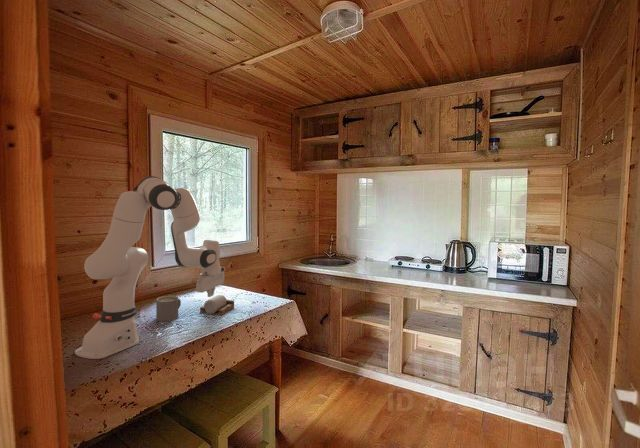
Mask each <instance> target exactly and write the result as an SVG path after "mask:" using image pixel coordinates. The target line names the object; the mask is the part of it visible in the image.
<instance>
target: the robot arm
mask: <svg viewBox="0 0 640 448" xmlns="http://www.w3.org/2000/svg"><path fill="white" fill-rule="evenodd" d="M151 207H153V208H154V209H157V210H160V211H168V210H170V211H171V215H172V218H173V221H172V222H171V225H170V232H171V238H172V243H173V248H174V261H175V263H176V264H177V265H178V266H179V267H181V268H182V267H183V268H184V267H185V268H186V267H187V268H188V267H189V268H198V269H201V273H200V274H199V275H198V277H197V279H196V287H195V291H196V292H197V293H201V294H203V293H207V297H208V298H212V296H213V297H214V294H215V291H216V287H219V286H221V285H222V284H224V283H225V271H226V268H225V266H221V263H220V258H221V247H220V242H219V240H214V239H213V240H212V239H204V240H203V242H202V245H201V246H200V247H191V246H189V245H188V244H187V240H186V234H185V233H186V232H189V231H191V230H193V229H195V228H196V227H197V226H198V225H199V223H200V221H201V215H200V210H199V208H198V205H197V203H196V200H195V198H194V196H193V194H192V192H191V191H190V190H189V189H187V188H185V187H179V188H174V187H173V186H171V185H170V184H169V183H168V182H167V181H165V180H163V179H162V178H160V177H158V176H153V175H151V176H149V175H148V176H145V177H144V178H142V179H141V180H140V181H139V183H138V184H137V185H136V186H135V187H134V188H133V190H129V191H125V192H122V193H121V194H120V195H119V197H118V200H117V202H116V204H115V207H114V210H113V215H112V218H111V221H110V222H111V223H110V227H109V230H108V233H107V235H106V237H105V239H104V241H102V243H101V245H100V246H99V247H98V248H97V250H95V252H93V253H92V254H91V255H89V256H88V257H87V258H86V259H85V261H84V267H83V268H84V272H85V274H86V275H87V276H88V277H89V278H90V279H93V280H108V279H112V280H111V281H110V283H108V285H107V286H106V287H105V288H104V290H103V293H102V309H101V312H100V313H97V312H95V313H93V315H92V317H93V319H97V320H98V321H97V322H96V323H95V324H94V326H93V327H91V329H89V330H88V331H87V333H86V334H84V337H83V339H82V345H81V346H80V347H78V348H77V349H75V350H74V355H76V356H77V357H80V358H84V359H91V360H99V359H104V358H107V357H109V356H112V355H114V354H116V353H119V352H122V351H123V350H126V349H128V348H130V347H134V346H136V345H139V344H140V341H139V340H140V335H139V333H138V328H137V322H136V315H137V314H136V313H137V312H136V311H137V310H136V308H137V307H136V305H135V299H136V298H135V296H136V295H135V293H136V285H137V282H138V279H139V277H140V274H141V273H142V271H143V270H144V268H145V267H146V266H147V265H148V263H149V254H148V252H147V251H146V250H145V249H144V248H142V247H136V246H134V244H136V243H137V242H138V241H139V240H140V239H141V236H142V234H143V233H142V232H143V228H144V224H145V219H146V215H147V212H148V210H149V209H150V208H151Z"/></svg>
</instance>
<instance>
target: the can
mask: <svg viewBox="0 0 640 448" xmlns="http://www.w3.org/2000/svg"><path fill="white" fill-rule="evenodd" d="M227 300H228V299H227V298H226V297H225V296H224V295H222V294H218V295H216V296H213V297H210V298H209V299H208V300H206V301H205V302H204V304H203V306H204V308H205V312H206V313H207V314H210V315H213V314H215V313H216V312H217V313H218V310H219V309H221V308H223V307H225V305H226V303H227Z"/></svg>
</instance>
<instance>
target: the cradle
mask: <svg viewBox="0 0 640 448" xmlns="http://www.w3.org/2000/svg"><path fill="white" fill-rule="evenodd" d="M226 300H227V303H226V305H225V307H223V308H221V309H219V310H218V311H217V314H219V316H222V314H223V315H225V314H226V313H228V312H230V311H231V310H232V308H233V307H234V308H235V300H232V299H226ZM234 308H233V309H234ZM230 309H231V310H230ZM227 311H228V312H227ZM199 312H200V313H205V312H206V311H205V308H204V305H202V306H201V307H200V309H199ZM225 312H226V313H225ZM224 313H225V314H224Z"/></svg>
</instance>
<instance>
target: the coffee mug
mask: <svg viewBox="0 0 640 448" xmlns="http://www.w3.org/2000/svg"><path fill="white" fill-rule="evenodd" d="M155 302H156V306H155V307H156V310H155V312H156V314H155V315H156V316H155V318H156V319H155V320H156V321H158V322H160V323H161V322H162V323H164V322H168V323H169V322H172V321H176V320H177V319H179V309H180V308H181V303H182V302H181V298H179V297H178V296H177V295H163V296H159V297H157V299H156V301H155Z"/></svg>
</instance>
